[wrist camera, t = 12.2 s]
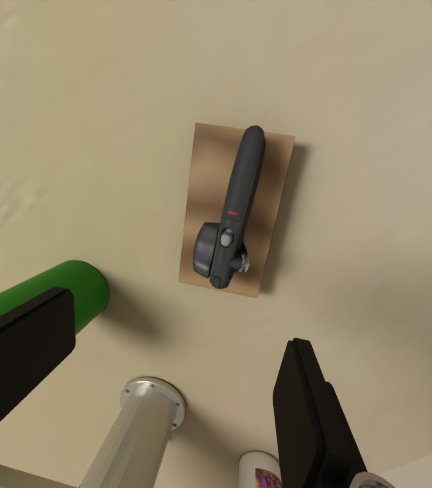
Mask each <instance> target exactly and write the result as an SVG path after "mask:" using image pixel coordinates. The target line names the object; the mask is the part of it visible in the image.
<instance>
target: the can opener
mask: <svg viewBox="0 0 432 488" xmlns="http://www.w3.org/2000/svg"><path fill="white" fill-rule="evenodd" d="M264 137H265V136H264V131H263V129H262V128H261V127H259V126H257V125H256V126H251V127H249V128H248V129H246V131H245V132H244V134H243V136H242V139H241V142H240V145H239V149H238V152H237V155H236V159H235V162H234V166H233V169H232V173H231V176H230V180H229V184H228V189H227V193H226V197H225V202H224V206H223V211H222V216H221V221H220V223H213V222H205V223H204V224H203V225H202V227H201V229H200V231H199V233H198V236H197V238H196V242H195V245H194V251H193V270H194V272H196V273H198V274H200V275H201V276H203V277H205V278H209V277H210V278H209V281H210V283H211V285H212V286H214V287H215V288H217V289H224V288H227V287H228V285H229V284H230V281H231V279H232V277H233V274H234V272H236V271H237V270H239V272H240V271H241V272H246V271H247V270H248V267H249V266H250V264H249V258H248V256H247V250H246V247H245V244H244V241H243V238H244V234H245V229H246V225H247V222H248V218H249V215H250V211H251V207H252V204H253V201H254V197H255V193H256V190H257V186H258V182H259V178H260V173H261V169H262V164H263V159H264V153H265V147H266V141H265V138H264Z"/></svg>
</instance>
